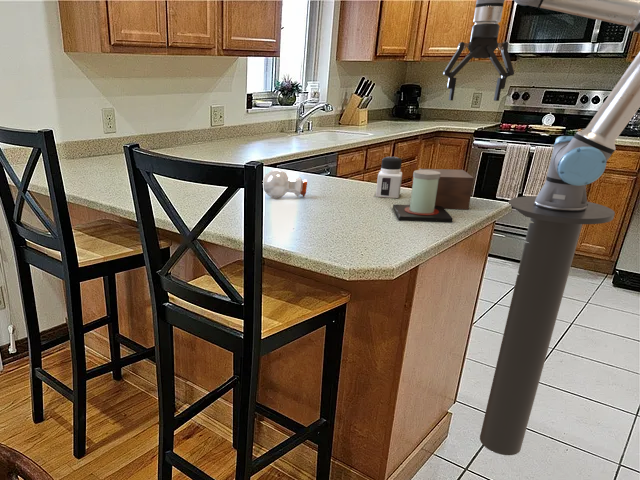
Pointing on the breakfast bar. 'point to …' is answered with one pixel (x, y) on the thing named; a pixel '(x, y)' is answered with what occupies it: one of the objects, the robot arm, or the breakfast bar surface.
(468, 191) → the brown box
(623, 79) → the robot arm
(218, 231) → the breakfast bar surface
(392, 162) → the container
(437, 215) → the hob plate
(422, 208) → the jar
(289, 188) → the potion bottle
